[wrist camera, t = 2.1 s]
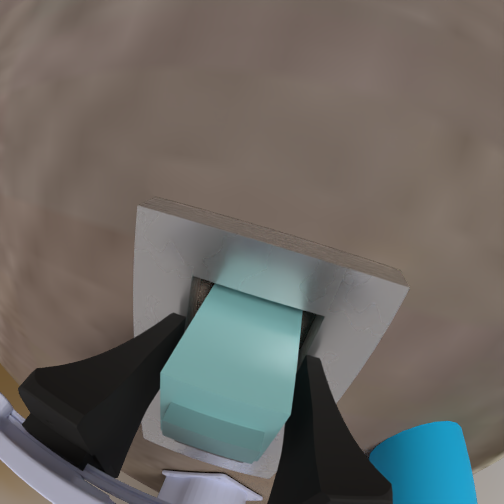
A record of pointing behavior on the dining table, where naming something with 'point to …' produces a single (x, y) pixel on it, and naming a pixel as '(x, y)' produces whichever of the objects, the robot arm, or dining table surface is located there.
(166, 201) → the panel
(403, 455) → the mug
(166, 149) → the dining table surface
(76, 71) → the dining table surface
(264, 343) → the plug
